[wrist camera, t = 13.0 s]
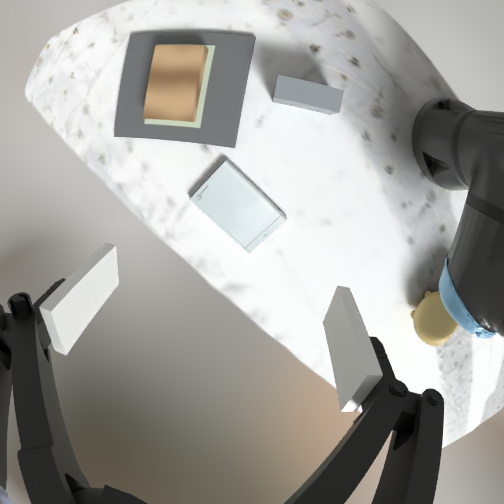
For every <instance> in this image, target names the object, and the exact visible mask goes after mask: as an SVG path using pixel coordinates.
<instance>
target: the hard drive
mask: <svg viewBox="0 0 504 504" xmlns="http://www.w3.org/2000/svg"><path fill="white" fill-rule="evenodd" d="M189 200H190V201H191V202H192V203H193V204H195V205H196V206H197V207H198V208H199V209H200V210H201V211H202V212H203V213H204V214H206V215H207V216H208V217H209V218H210V219H211V220H212V221H213V222H214V223H215V224H216V225H218V226H219V227H220V228H221V229H222V230H223V231H224V232H225V233H226V234H227V235H229V236H230V237H231V238H232V239H233V240H234V241H235V242H236V243H237V244H239V245H240V246H241V247H242V248H243V249H244V250H245V251H246V252H248V253H251V252H252V251H253V250H254V249H255V248H256V247H257V246H258V245H260V244H261V243H262V242H263V241H264V240H265V239H266V238H267V237H268V236H270V235H271V234H272V233H273V232H274V231H275V230H276V229H277V228H278V227H280V226H281V225H282V224H283V223H284V222H285V221H286V220H287V217H286V216H285V215H284V214H283V213H282V212H281V211H280V210H279V209H278V208H277V207H276V206H275V205H274V204H273V203H272V202H271V201H270V200H269V199H268V198H267V197H266V196H265V195H264V194H263V193H262V192H261V191H260V190H259V189H258V188H257V187H256V186H255V185H254V184H253V183H251V182H250V181H249V180H248V179H247V178H246V177H245V176H244V175H243V174H242V173H241V172H240V171H239V170H238V169H237V168H236V167H235V166H234V165H232V164H231V163H230V162H229V161H228V160H226V161H225V162H224V163H223V164H222V165H221V166H220V167H219V168H218V169H217V170H216V171H215V172H214V173H213V174H212V175H211V176H210V177H209V178H208V179H207V180H206V182H205V183H204V184H203V185H202V186H201V187H200V188H199V189H198V190H197V191H196V192H195V194H194V195H193V196H192V197H191V198H190V199H189Z"/></svg>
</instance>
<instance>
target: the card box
mask: <svg viewBox="0 0 504 504" xmlns="http://www.w3.org/2000/svg"><path fill="white" fill-rule="evenodd" d="M207 55H208V49H207V47H206V46H205V45H156V46H155V50H154V55H153V60H152V65H151V70H150V75H149V81H148V86H147V92H146V99H145V106H144V113H143V119H159V120H174V121H186V122H195V121H196V115H197V109H198V103H199V97H200V91H201V86H202V80H203V75H204V70H205V65H206V60H207Z"/></svg>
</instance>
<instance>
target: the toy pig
mask: <svg viewBox="0 0 504 504" xmlns="http://www.w3.org/2000/svg"><path fill="white" fill-rule="evenodd" d="M424 296H425V298H424V299H423V300H422V301H421V302H420V303H419V305H418V306H417V308H416V311H415V310H413V311H412V312H411V317H412V318H413V320H414V328H415V331H416V333H417V335H418V337H419V338H420V339H421V340H422V341H423V342H425V343H426V344H428V345H431V346H440V345H442V344H443V343H445V342H446V341H447V340H448V339H449V338H450V337H451V335H452V334H453V333H454V332H455V330H456V329H457V327H458V326H459V324H458V323H457V322H456V321H455V320H454V319H453V318H452V316H451V315H450V314H449V313H448V311H447V310H446V308H445V306H444V304H443V302H442V300H441V297H440V292H439V291H435V292H432V293H431V292H430V291H426V292H425V294H424Z"/></svg>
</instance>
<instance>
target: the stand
mask: <svg viewBox="0 0 504 504" xmlns="http://www.w3.org/2000/svg"><path fill="white" fill-rule="evenodd" d="M343 91H344V90H340V89H337V88H333V87H330V86H326V85H322V84H318V83H314V82H310V81H306V80H301V79H297V78H292V77H287V76H282V75H278V77H277V82H276V87H275V92H274V98H273V102H276V103H281V104H286V105H291V106H296V107H300V108H305V109H309V110H313V111H317V112H321V113H325V114H335V113H339V112H340V107H341V102H342V96H343Z"/></svg>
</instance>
